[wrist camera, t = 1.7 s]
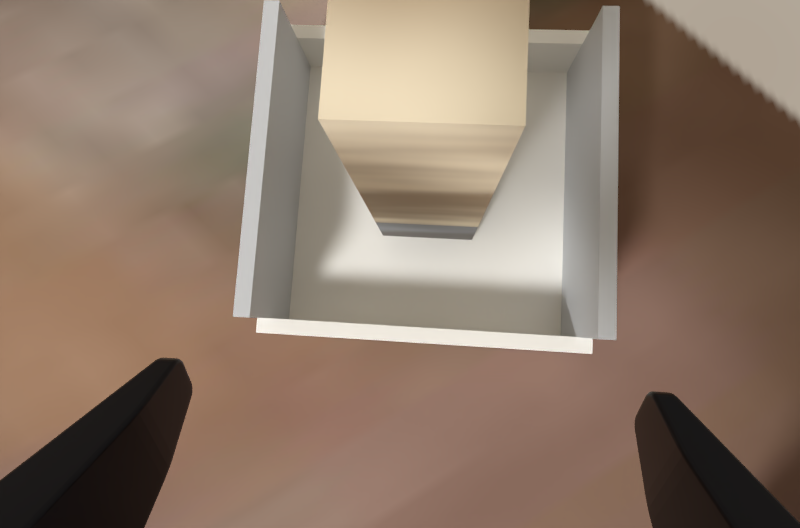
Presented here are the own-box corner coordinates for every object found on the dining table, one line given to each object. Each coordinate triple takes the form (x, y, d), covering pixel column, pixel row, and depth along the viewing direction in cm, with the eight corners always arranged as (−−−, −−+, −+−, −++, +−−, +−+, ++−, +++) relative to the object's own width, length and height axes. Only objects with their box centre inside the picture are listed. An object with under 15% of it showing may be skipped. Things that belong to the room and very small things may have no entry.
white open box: (570, 349, 22) (616, 358, 17) (278, 331, 23) (231, 333, 18) (576, 67, 24) (619, -10, 18) (302, 60, 25) (265, -14, 19)
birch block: (471, 239, 22) (525, 125, 9) (383, 235, 23) (317, 119, 10) (475, 153, 23) (531, -67, 10) (388, 150, 23) (333, -69, 10)
